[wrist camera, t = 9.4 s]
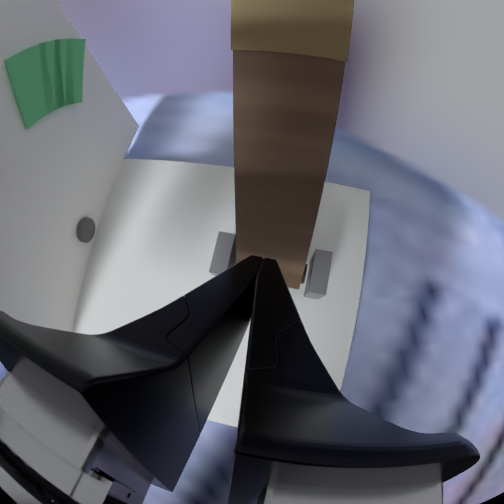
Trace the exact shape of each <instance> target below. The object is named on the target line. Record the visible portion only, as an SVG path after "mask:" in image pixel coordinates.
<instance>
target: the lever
mask: <svg viewBox="0 0 504 504" xmlns="http://www.w3.org/2000/svg"><path fill="white" fill-rule="evenodd" d="M353 7H354V0H231V50H233V121H234V183H235V224H236V258H237V262H236V264H237V263H239V262H240V261H242V260H244V259H245V258H247V257H249V256H251V255H255V256H260V257H263V259H264V258H271V259H275V260H277V262H278V265H279V267H280V270H281V272H282V274H283V277H284V279H285V282H286V284H287V286H288V288H293V289H298V290H299V288H300V284H304V281H305V277H306V272H307V264H306V261H307V257H308V253H309V249H310V245H311V240H312V236H313V232H314V228H315V223H316V219H317V215H318V210H319V206H320V201H321V197H322V192H323V187H324V183H325V178H326V173H327V168H328V163H329V158H330V153H331V147H332V142H333V137H334V131H335V125H336V120H337V114H338V107H339V101H340V95H341V89H342V82H343V75H344V68H345V62H347V61H348V53H349V45H350V37H351V28H352V18H353Z"/></svg>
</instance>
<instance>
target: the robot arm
mask: <svg viewBox="0 0 504 504" xmlns="http://www.w3.org/2000/svg"><path fill="white" fill-rule="evenodd" d="M250 320H251V321H250ZM249 322H250V329H249V337H248V346H247V354H246V362H245V371H244V379H243V387H242V395H241V403H240V411H239V419H238V427H237V435H236V443H235V450H234V457H233V465H232V472H231V480H230V488H229V495H228V503H227V504H443V482H445V481H447V480H449V479H451V478H453V477H455V476H457V475H458V474H460V473H462V472H464V471H466V470H467V469H469V468H470V467H472V466H473V465H474V464H476V463H477V462H478V460H479V459H480V454H479V452H478V450H477V449H476V447H475V446H474V445H473V444H472V443H471V442H470V441H469V440H467V439H465V438H463V437H462V436H460V435H458V434H456V433H452V432H444V433H433V434H425V433H418V432H414V431H410V430H407V429H404V428H402V427H399V426H397V425H395V424H393V423H391V422H388V421H386V420H384V419H382V418H380V417H378V416H376V415H374V414H372V413H370V412H368V411H366V410H364V409H362V408H360V407H358V406H356V405H354V404H352V403H351V402H349V401H348V400H347V399H346V398H345V397H344V396H343V395H342V393H341V392H340V391H339V389H338V388H337V386H336V384H335V383H334V381H333V379H332V378H331V376H330V374H329V373H328V371H327V369H326V367H325V366H324V364H323V362H322V361H321V359H320V357H319V356H318V354H317V352H316V350H315V349H314V347H313V345H312V343H311V341H310V339H309V337H308V334H307V332H306V330H305V328H304V325H303V323H302V322H301V318H300V316H299V313H298V311H297V308H296V306H295V303H294V301H293V298H292V296H291V294H290V291H289V289H288V286H287V284H286V282H285V279H284V277H283V274H282V272H281V270H280V267H279V265H278V262H277V260H275V259H271V258H264V259H263V257H260V256H255V255H251V256H249V257H247V258H245V259H244V260H242V261H240V262H239V263H237V264H235V265H234V266H232V267H230V268H229V269H227V270H225V271H224V272H222V273H220V274H218V275H217V276H215V277H213V278H212V279H210V280H208V281H207V282H205V283H203V284H202V285H200V286H198V287H197V288H195V289H193V290H192V291H190V292H188V293H187V294H185V295H184V296H181V297H180V298H178V299H176V300H175V301H173V302H171V303H169V304H167V305H166V306H164V307H162V308H160V309H158V310H156V311H154V312H152V313H150V314H148V315H146V316H143V317H141V318H139V319H137V320H135V321H132V322H130V323H128V324H126V325H123V326H121V327H119V328H117V329H115V330H112V331H110V332H107V333H103V334H97V335H90V334H82V333H75V332H69V331H63V330H57V329H52V328H46V327H41V326H36V325H32V324H28V323H24V322H21V321H18V320H16V319H14V318H12V317H11V316H9V315H8V314H6V313H5V312H3V311H1V310H0V361H1V362H2V364H3V365H4V367H5V368H6V369H7V371H8V372H7V374H6V375H5V376H4V378H3V379H2V380H1V382H0V504H142V503H143V501H144V499H145V496H146V494H147V492H148V489H149V487H150V485H151V484H153V485H155V486H158V487H160V488H163V489H165V490H168V491H171V492H173V490H174V488H175V486H176V484H177V482H178V480H179V478H180V476H181V474H182V471H183V469H184V467H185V465H186V463H187V461H188V459H189V457H190V455H191V453H192V451H193V448H194V446H195V444H196V442H197V440H198V438H199V436H200V433H201V431H202V429H203V427H204V425H205V423H206V420H207V418H208V416H209V414H210V412H211V409H212V407H213V405H214V403H215V401H216V398H217V396H218V394H219V392H220V389H221V387H222V385H223V383H224V380H225V378H226V376H227V374H228V371H229V369H230V367H231V365H232V362H233V360H234V358H235V355H236V353H237V351H238V349H239V346H240V344H241V342H242V339H243V337H244V335H245V332H246V330H247V328H248V325H249ZM480 504H504V493H502V494H500V495H498V496H496V497H494V498H492V499H489V500H487V501H485V502H483V503H480Z"/></svg>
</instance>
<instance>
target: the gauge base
mask: <svg viewBox="0 0 504 504" xmlns="http://www.w3.org/2000/svg"><path fill="white" fill-rule="evenodd" d="M138 128H139V125H138V124H137V122H136V121H135V119H134V118H133V116H132V115H131V113H130V112H129V111H128V109H127V108H126V106H125V105H124V103H123V102H122V100H121V99H120V97H119V96H118V94H117V93H116V91H115V90H114V88H113V87H112V85H111V84H110V82H109V81H108V79H107V77H106V76H105V74H104V73H103V71H102V70H101V68H100V67H99V65H98V64H97V62H96V61H95V59H94V58H93V56H92V54H91V53H90V51H89V50H88V48H87V47H86V45H85V39H81V37H80V36H79V34H78V33H77V31H76V29H75V28H74V26H73V25H72V23H71V21H70V20H69V18H68V17H67V15H66V14H65V12H64V10H63V9H62V7H61V6H60V4H59V2H58V0H0V310H1V311H3V312H5V313H6V314H8V315H9V316H11V317H12V318H14V319H16V320H18V321H21V322H24V323H28V324H32V325H36V326H41V327H46V328H52V329H57V330H63V331H69V332H75V333H82V334H90V335H97V334H103V333H107V332H110V331H112V330H115V329H117V328H119V327H121V326H123V325H126V324H128V323H130V322H132V321H135V320H137V319H139V318H141V317H143V316H146V315H148V314H150V313H152V312H154V311H156V310H158V309H160V308H162V307H164V306H166V305H167V304H169V303H171V302H173V301H175V300H176V299H178V298H180V297H181V296H184V295H185V294H187V293H188V292H190V291H192V290H193V289H195V288H197V287H198V286H200V285H202V284H203V283H205V282H207V281H208V280H210V279H212V278H213V277H215V276H217V275H218V274H220V273H222V272H224V271H225V270H227V269H229V268H230V267H232V266H234V265H235V264H236V262H237V258H236V224H235V183H234V167H229V166H221V165H212V164H202V163H191V162H179V161H165V160H149V159H127V158H125V155H126V153H127V151H128V149H129V146H130V144H131V142H132V140H133V138H134V136H135V134H136V132H137V130H138ZM369 208H370V191H368V190H364V189H359V188H355V187H350V186H345V185H341V184H336V183H331V182H326V181H325V183H324V187H323V192H322V197H321V201H320V206H319V210H318V215H317V219H316V223H315V228H314V232H313V236H312V240H311V245H310V249H309V253H308V257H307V261H306V264H307V272H306V277H305V281H304V284H300V288H299V290H298V289H293V288H288V289H289V291H290V294H291V296H292V298H293V301H294V303H295V306H296V308H297V311H298V313H299V316H300V318H301V322H302V323H303V325H304V328H305V330H306V332H307V334H308V337H309V339H310V341H311V343H312V345H313V347H314V349H315V350H316V352H317V354H318V356H319V357H320V359H321V361H322V362H323V364H324V366H325V367H326V369H327V371H328V373H329V374H330V376H331V378H332V379H333V381H334V383H335V384H336V386H337V388H338V389H339V391H340V390H341V386H342V382H343V378H344V374H345V370H346V366H347V361H348V357H349V352H350V348H351V343H352V338H353V333H354V328H355V322H356V317H357V311H358V305H359V299H360V292H361V285H362V278H363V271H364V263H365V254H366V245H367V234H368V222H369ZM250 321H251V320H250ZM249 329H250V322H249V325H248V328H247V330H246V332H245V335H244V337H243V339H242V342H241V344H240V346H239V349H238V351H237V353H236V355H235V358H234V360H233V362H232V365H231V367H230V369H229V371H228V374H227V376H226V378H225V380H224V383H223V385H222V387H221V389H220V392H219V394H218V396H217V398H216V401H215V403H214V405H213V407H212V409H211V412H210V414H209V416H208V418H207V420H211V421H214V422H218V423H222V424H226V425H229V426H234V427H238V419H239V411H240V403H241V395H242V387H243V379H244V371H245V362H246V354H247V346H248V337H249Z"/></svg>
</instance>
